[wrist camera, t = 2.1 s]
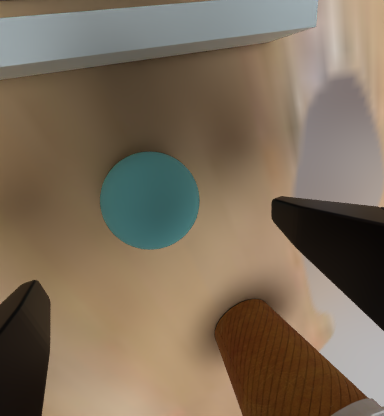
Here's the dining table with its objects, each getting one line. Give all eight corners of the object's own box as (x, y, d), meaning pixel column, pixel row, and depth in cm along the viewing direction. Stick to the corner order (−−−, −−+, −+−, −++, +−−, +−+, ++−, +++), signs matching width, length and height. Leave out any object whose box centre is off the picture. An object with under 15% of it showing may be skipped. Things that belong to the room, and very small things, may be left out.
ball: (114, 232, 15) (122, 285, 11) (86, 155, 13) (81, 184, 8) (187, 209, 16) (220, 248, 12) (173, 135, 14) (209, 151, 10)
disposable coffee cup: (193, 308, 20) (292, 518, 10) (284, 271, 23) (436, 411, 13) (203, 370, 25) (280, 560, 14) (278, 333, 27) (389, 474, 17)
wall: (-125, 97, 9) (-231, 96, 6) (-150, 61, 9) (-281, 41, 6) (267, 42, 14) (315, 26, 11) (267, 16, 13) (318, -9, 10)
